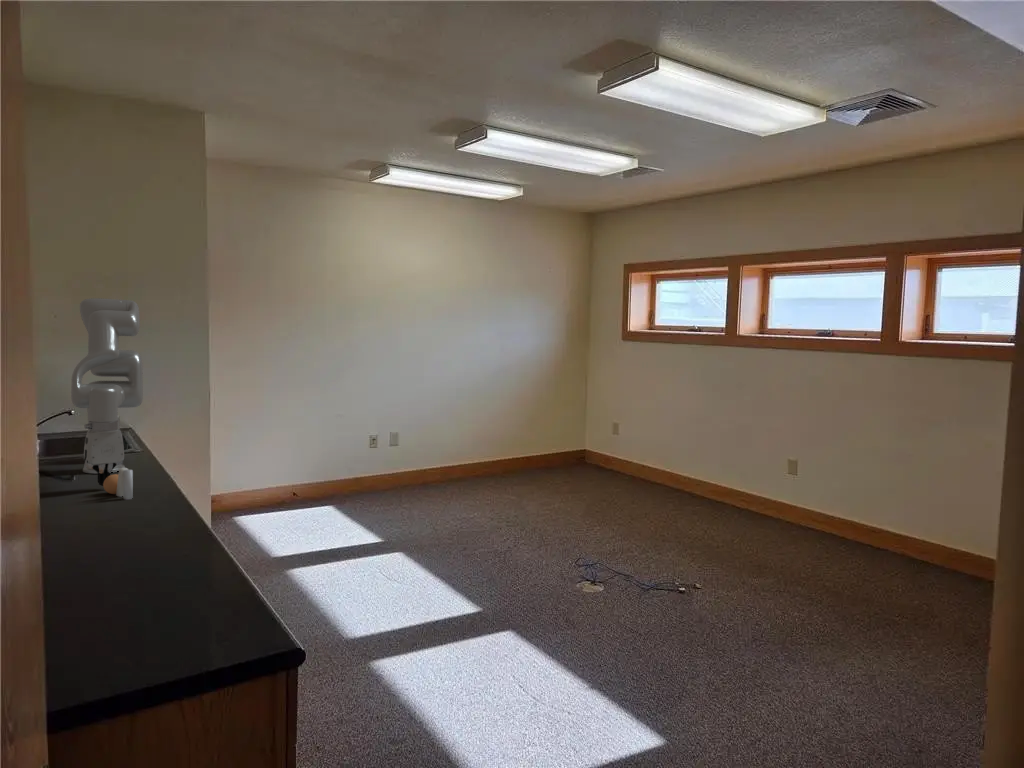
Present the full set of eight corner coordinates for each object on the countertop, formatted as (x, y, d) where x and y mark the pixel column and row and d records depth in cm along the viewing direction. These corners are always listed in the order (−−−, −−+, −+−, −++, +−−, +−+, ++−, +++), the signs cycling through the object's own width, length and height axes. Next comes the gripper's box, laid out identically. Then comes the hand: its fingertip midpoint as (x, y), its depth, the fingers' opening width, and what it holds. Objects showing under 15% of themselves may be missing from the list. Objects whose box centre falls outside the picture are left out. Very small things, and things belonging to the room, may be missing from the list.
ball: (113, 479, 198) (112, 498, 199) (131, 474, 204) (130, 493, 205) (98, 474, 200) (98, 493, 201) (117, 470, 206) (116, 488, 207)
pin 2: (122, 498, 198) (122, 470, 198) (132, 497, 200) (131, 469, 199) (124, 499, 197) (124, 471, 196) (133, 498, 198) (133, 470, 197)
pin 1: (115, 493, 201) (118, 467, 199) (124, 492, 203) (127, 467, 200) (116, 496, 199) (119, 471, 197) (125, 496, 201) (128, 470, 199)
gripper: (82, 430, 198) (82, 491, 199) (134, 425, 210) (134, 483, 211) (71, 427, 202) (71, 486, 204) (123, 423, 214) (123, 479, 216)
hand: (103, 484), depth 207 cm, fingers closed
